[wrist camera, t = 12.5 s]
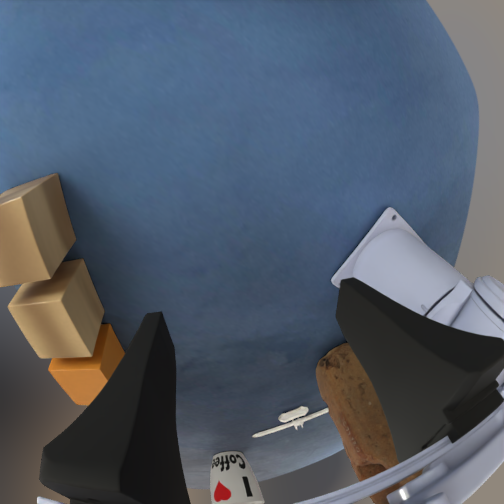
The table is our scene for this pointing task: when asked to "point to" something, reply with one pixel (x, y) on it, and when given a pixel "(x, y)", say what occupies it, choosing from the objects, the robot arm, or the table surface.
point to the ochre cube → (89, 368)
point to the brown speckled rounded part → (358, 417)
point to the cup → (233, 480)
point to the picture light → (290, 416)
